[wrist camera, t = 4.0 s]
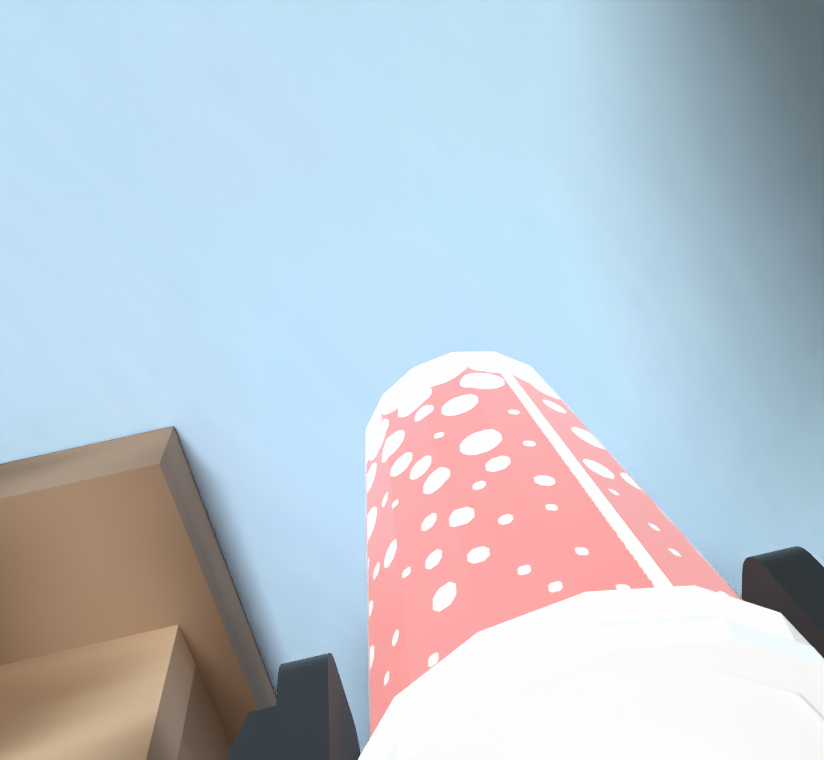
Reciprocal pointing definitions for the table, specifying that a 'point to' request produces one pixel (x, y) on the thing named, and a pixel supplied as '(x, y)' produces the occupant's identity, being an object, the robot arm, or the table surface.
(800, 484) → the table surface
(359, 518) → the table surface
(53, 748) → the cup holder
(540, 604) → the beverage cup
